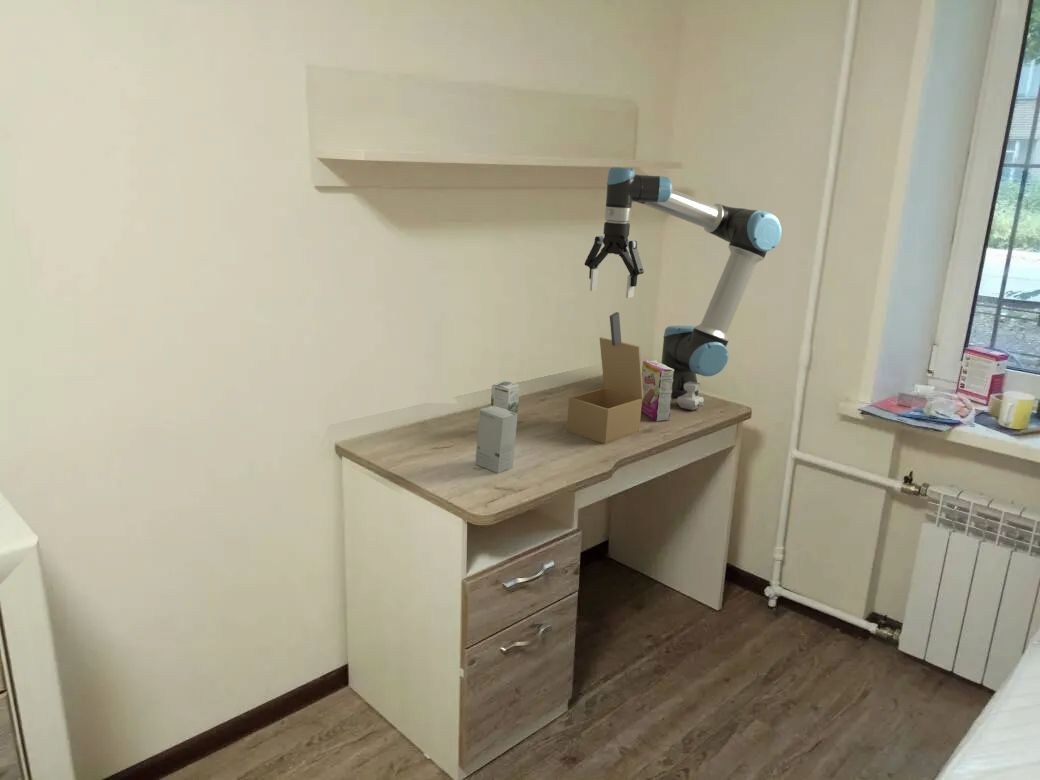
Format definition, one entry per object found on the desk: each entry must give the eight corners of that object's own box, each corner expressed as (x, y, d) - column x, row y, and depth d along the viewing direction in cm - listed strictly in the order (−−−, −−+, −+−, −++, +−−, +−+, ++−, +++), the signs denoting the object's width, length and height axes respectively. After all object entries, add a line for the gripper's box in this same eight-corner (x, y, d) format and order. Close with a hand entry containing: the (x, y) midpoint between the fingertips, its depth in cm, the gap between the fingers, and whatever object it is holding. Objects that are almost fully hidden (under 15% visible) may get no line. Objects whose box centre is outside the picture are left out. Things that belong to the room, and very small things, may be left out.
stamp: (672, 407, 255) (674, 382, 252) (681, 403, 260) (683, 378, 258) (698, 413, 250) (701, 388, 247) (706, 409, 255) (709, 384, 253)
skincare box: (474, 464, 200) (476, 409, 196) (491, 458, 205) (493, 404, 200) (499, 474, 195) (501, 417, 191) (515, 468, 199) (518, 412, 195)
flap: (599, 391, 235) (605, 386, 237) (637, 402, 226) (643, 397, 228) (591, 312, 224) (598, 308, 225) (631, 320, 215) (637, 316, 216)
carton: (601, 419, 240) (603, 387, 237) (639, 431, 230) (642, 399, 228) (566, 430, 228) (569, 397, 225) (605, 444, 219) (608, 409, 216)
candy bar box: (637, 410, 250) (642, 360, 245) (651, 409, 251) (656, 359, 247) (655, 422, 240) (661, 369, 235) (669, 420, 242) (675, 369, 237)
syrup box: (499, 428, 227) (501, 379, 223) (517, 432, 225) (519, 383, 220) (488, 433, 223) (490, 384, 218) (506, 438, 220) (509, 388, 216)
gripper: (576, 218, 238) (571, 288, 244) (644, 226, 222) (638, 301, 228) (591, 217, 243) (586, 286, 249) (660, 225, 227) (652, 298, 233)
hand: (611, 293), depth 239 cm, fingers open, 13 cm apart
